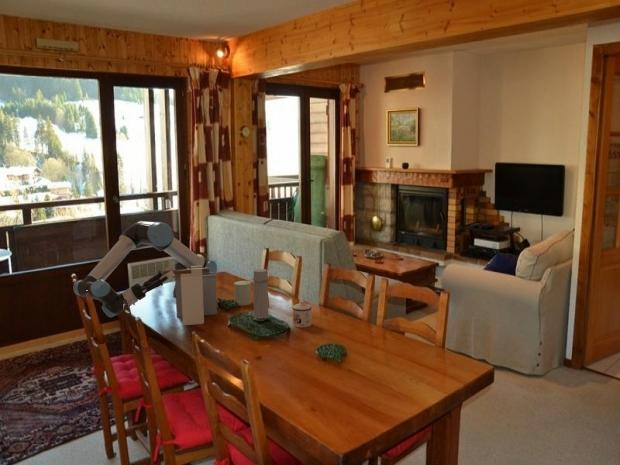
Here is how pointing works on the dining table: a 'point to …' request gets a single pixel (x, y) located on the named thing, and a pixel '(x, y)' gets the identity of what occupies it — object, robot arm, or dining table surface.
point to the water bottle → (260, 293)
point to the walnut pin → (185, 272)
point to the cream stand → (192, 297)
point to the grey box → (208, 294)
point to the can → (242, 292)
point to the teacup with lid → (302, 315)
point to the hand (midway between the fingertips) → (173, 269)
